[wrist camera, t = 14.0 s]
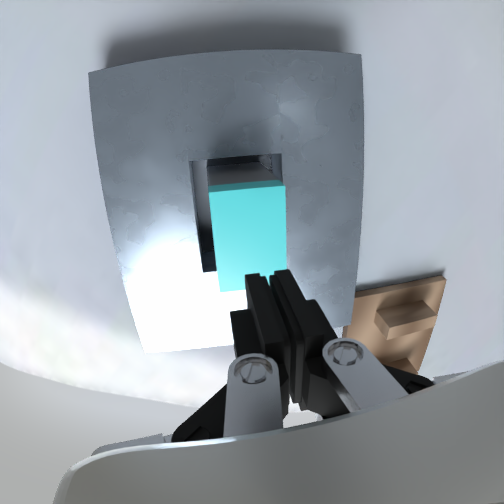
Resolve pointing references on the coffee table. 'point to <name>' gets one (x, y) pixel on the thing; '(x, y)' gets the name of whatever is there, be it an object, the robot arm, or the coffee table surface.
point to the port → (220, 146)
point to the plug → (246, 222)
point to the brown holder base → (397, 321)
